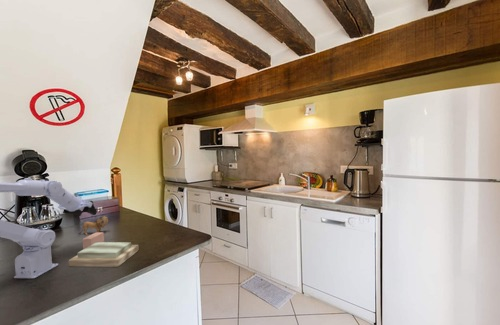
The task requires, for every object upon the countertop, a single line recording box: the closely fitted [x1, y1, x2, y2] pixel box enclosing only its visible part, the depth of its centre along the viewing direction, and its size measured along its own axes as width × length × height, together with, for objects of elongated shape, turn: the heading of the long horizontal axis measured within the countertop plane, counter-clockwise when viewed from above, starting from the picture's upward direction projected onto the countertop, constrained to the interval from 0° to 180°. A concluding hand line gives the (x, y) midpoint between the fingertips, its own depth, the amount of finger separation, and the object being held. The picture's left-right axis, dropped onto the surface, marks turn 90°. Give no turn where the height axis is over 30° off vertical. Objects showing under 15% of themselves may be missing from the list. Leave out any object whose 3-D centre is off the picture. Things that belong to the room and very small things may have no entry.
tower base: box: [68, 241, 140, 268], centre depth 92 cm, size 14×20×4 cm
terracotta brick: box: [82, 231, 105, 250], centre depth 105 cm, size 8×4×5 cm, turn 176°
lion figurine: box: [77, 215, 109, 236], centre depth 121 cm, size 15×5×9 cm, turn 105°
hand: (88, 213), depth 104 cm, fingers open, 7 cm apart
